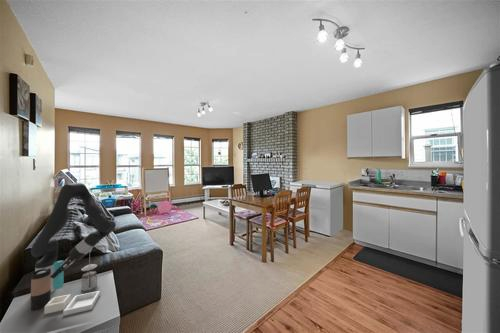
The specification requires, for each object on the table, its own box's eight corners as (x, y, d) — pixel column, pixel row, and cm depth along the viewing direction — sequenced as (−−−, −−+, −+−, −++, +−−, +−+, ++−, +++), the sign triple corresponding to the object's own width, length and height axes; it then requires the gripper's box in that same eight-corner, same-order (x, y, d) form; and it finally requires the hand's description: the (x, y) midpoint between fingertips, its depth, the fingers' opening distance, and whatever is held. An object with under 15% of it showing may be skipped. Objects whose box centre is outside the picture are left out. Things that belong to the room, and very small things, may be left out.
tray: (63, 318, 100) (63, 311, 101) (75, 301, 113) (75, 295, 113) (91, 311, 105) (91, 304, 105) (100, 296, 118) (100, 290, 118)
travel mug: (32, 314, 104) (32, 276, 104) (28, 309, 108) (29, 272, 108) (52, 305, 110) (52, 270, 111) (48, 301, 114) (48, 267, 115)
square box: (44, 316, 102) (44, 306, 102) (52, 306, 109) (52, 297, 110) (63, 311, 105) (64, 302, 105) (70, 302, 113) (70, 293, 113)
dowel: (51, 290, 105) (51, 264, 106) (55, 286, 109) (55, 261, 109) (61, 288, 107) (61, 262, 107) (64, 284, 110) (65, 259, 111)
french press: (98, 282, 133) (98, 246, 134) (99, 289, 125) (100, 250, 125) (79, 288, 126) (79, 250, 127) (79, 296, 118) (79, 255, 119)
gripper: (80, 241, 118) (52, 266, 112) (72, 249, 106) (40, 278, 100) (91, 248, 121) (64, 273, 114) (84, 257, 108) (54, 285, 102)
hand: (53, 275), depth 107 cm, fingers closed on dowel, 4 cm apart
